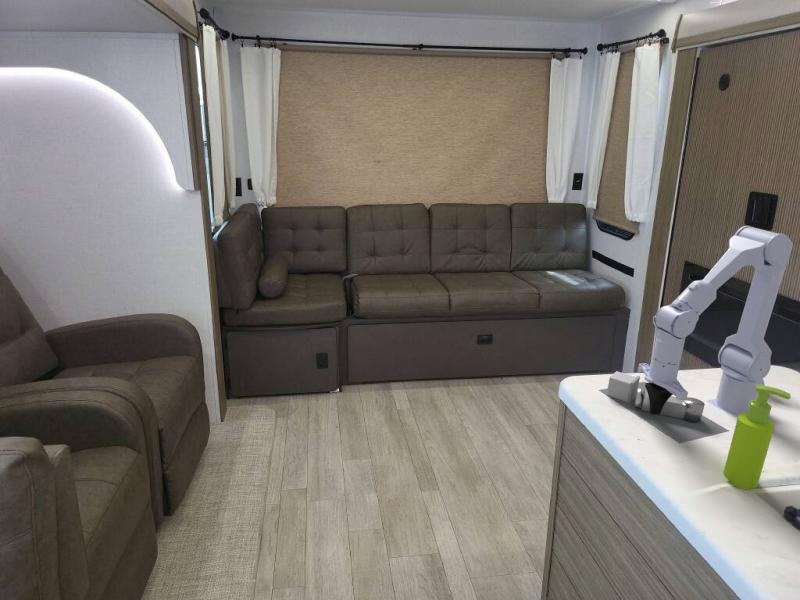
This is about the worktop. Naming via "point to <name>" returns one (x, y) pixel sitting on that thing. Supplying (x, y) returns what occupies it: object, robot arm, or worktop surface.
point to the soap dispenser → (751, 440)
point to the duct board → (676, 428)
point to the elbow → (673, 406)
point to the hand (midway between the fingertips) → (654, 413)
